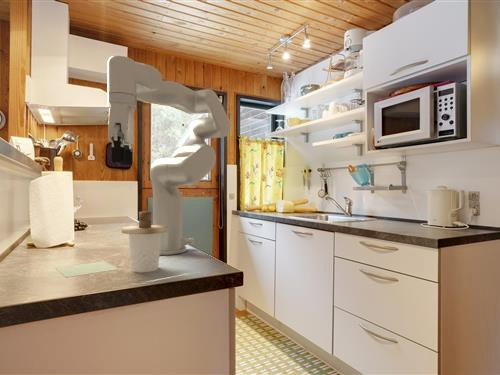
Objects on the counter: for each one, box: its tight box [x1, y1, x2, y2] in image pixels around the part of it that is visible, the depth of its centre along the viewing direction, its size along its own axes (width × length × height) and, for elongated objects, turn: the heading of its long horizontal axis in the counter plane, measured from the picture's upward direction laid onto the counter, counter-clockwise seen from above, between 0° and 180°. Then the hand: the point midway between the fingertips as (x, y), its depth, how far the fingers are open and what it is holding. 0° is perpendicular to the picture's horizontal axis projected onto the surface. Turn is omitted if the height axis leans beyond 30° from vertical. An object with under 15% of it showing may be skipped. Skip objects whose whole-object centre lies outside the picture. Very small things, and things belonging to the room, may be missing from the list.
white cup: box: [128, 233, 161, 273], centre depth 80 cm, size 8×8×10 cm
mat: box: [55, 260, 119, 278], centre depth 80 cm, size 12×12×1 cm
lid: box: [121, 211, 167, 235], centre depth 80 cm, size 11×11×5 cm
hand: (122, 163), depth 88 cm, fingers open, 9 cm apart
